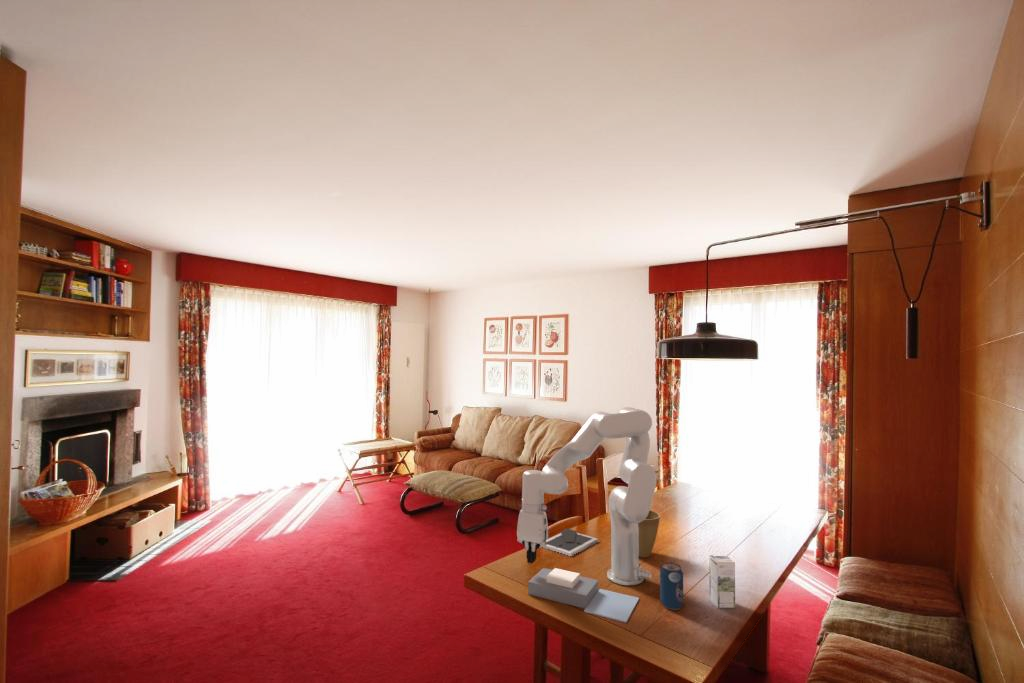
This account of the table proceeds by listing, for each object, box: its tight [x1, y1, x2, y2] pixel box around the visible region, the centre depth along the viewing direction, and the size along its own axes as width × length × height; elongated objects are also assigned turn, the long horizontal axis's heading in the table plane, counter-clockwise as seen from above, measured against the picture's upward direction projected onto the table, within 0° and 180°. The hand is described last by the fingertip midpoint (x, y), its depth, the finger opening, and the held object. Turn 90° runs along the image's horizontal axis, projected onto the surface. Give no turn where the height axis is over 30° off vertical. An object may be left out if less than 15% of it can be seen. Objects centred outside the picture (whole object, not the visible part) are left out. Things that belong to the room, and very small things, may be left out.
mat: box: [583, 588, 640, 624], centre depth 149 cm, size 13×16×1 cm
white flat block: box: [547, 567, 581, 588], centre depth 157 cm, size 9×7×2 cm
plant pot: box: [638, 510, 661, 559], centre depth 190 cm, size 15×15×16 cm
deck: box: [527, 567, 599, 610], centre depth 157 cm, size 20×12×4 cm, turn 62°
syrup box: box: [708, 554, 736, 609], centre depth 150 cm, size 6×6×14 cm
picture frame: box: [542, 528, 599, 557], centre depth 200 cm, size 16×3×21 cm
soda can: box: [659, 562, 685, 611], centre depth 149 cm, size 7×7×12 cm
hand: (531, 561), depth 162 cm, fingers closed
